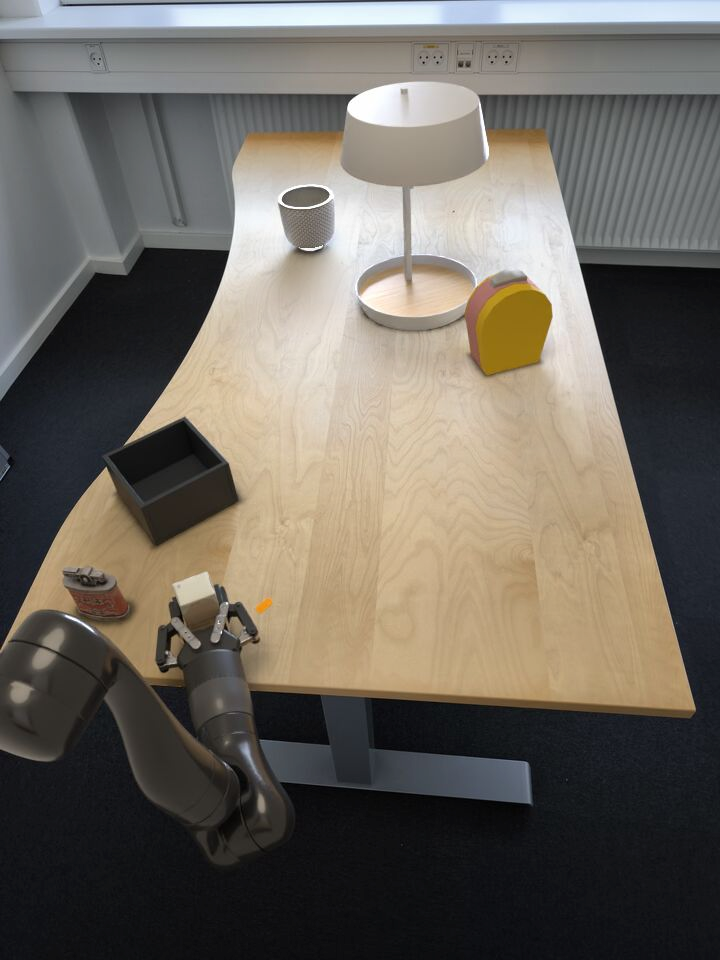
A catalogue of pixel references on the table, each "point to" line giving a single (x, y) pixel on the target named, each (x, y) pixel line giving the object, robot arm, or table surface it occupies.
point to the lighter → (95, 593)
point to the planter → (307, 215)
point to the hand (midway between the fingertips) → (196, 594)
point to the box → (197, 601)
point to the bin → (171, 479)
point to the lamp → (407, 163)
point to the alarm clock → (507, 322)
